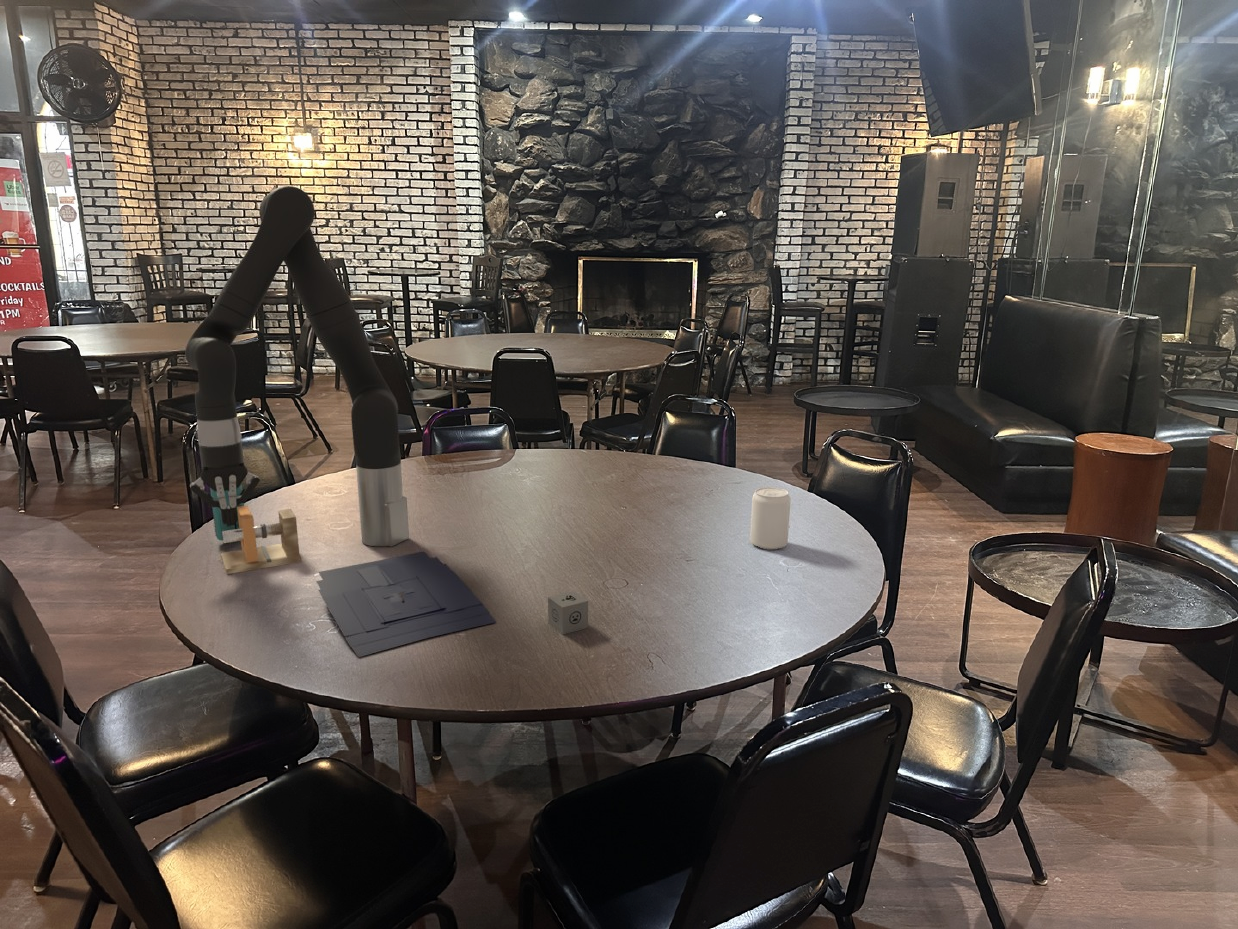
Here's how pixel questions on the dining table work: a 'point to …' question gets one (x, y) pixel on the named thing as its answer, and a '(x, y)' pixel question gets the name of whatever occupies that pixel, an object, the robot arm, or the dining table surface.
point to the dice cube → (568, 612)
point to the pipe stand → (266, 554)
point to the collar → (247, 533)
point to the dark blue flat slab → (399, 602)
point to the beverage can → (770, 518)
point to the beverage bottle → (217, 515)
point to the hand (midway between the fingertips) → (230, 524)
